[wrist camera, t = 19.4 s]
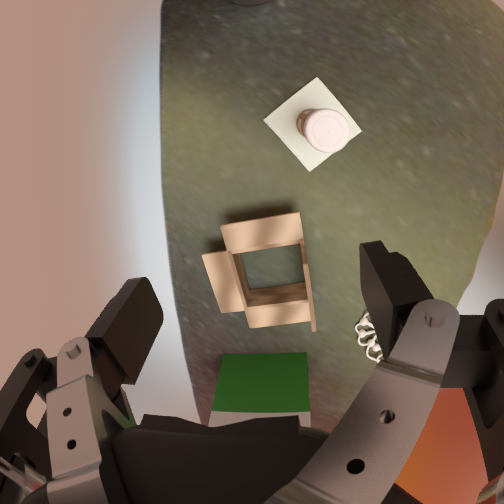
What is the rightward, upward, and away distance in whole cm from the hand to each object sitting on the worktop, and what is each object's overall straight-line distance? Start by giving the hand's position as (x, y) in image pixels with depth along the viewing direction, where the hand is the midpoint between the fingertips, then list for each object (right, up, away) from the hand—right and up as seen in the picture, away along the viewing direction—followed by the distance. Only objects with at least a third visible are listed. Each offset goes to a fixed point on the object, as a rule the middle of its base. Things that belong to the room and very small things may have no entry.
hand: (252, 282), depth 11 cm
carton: (+1, -1, +39) cm, 39 cm away
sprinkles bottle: (+8, +19, +27) cm, 34 cm away
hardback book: (+3, -23, +51) cm, 56 cm away
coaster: (+9, +19, +28) cm, 35 cm away
